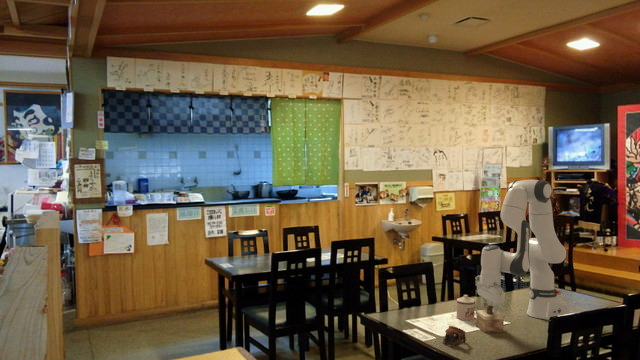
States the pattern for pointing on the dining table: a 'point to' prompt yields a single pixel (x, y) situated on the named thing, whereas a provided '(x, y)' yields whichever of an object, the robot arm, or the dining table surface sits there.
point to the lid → (489, 314)
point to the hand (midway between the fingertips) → (490, 309)
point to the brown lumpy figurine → (451, 338)
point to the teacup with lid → (465, 308)
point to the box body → (490, 325)
